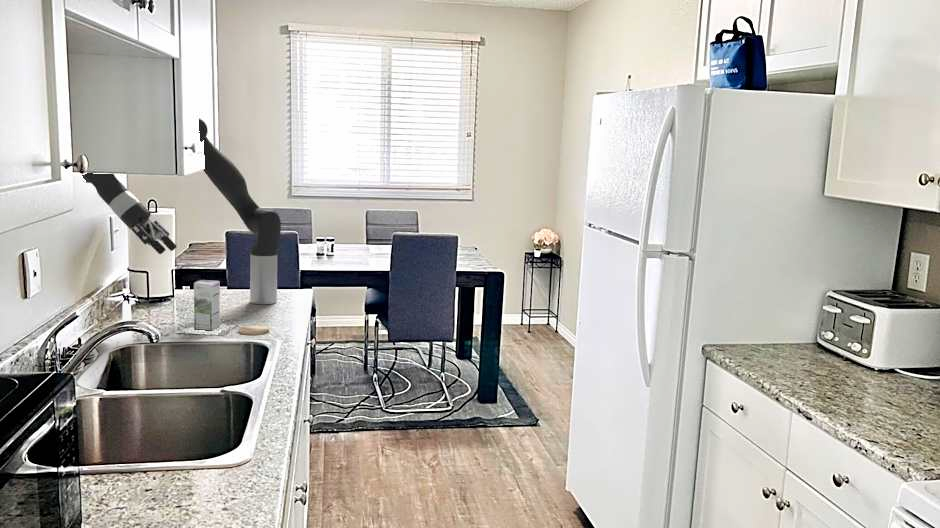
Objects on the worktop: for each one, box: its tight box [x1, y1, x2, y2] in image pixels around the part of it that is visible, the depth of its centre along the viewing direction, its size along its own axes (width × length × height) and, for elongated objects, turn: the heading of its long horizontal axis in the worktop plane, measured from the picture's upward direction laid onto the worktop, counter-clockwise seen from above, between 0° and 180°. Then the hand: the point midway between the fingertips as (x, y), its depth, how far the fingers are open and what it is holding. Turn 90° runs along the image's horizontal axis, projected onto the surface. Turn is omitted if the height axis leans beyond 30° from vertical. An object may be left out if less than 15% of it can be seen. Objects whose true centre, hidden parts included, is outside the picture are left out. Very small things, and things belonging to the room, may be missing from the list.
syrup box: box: [193, 279, 221, 331], centre depth 220 cm, size 6×6×14 cm
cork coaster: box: [237, 325, 270, 336], centre depth 221 cm, size 9×9×1 cm
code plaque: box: [185, 322, 235, 337], centre depth 221 cm, size 14×14×1 cm
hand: (168, 250), depth 219 cm, fingers open, 8 cm apart
